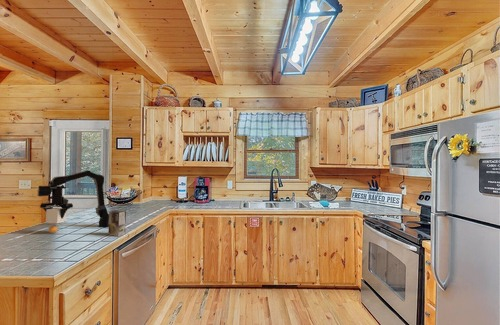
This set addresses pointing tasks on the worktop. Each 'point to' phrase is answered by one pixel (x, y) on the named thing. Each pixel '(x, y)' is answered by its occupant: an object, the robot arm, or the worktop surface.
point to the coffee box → (117, 222)
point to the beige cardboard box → (54, 216)
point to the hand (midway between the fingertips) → (56, 218)
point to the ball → (53, 229)
